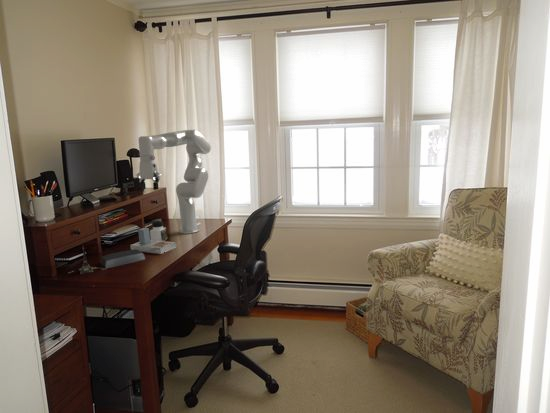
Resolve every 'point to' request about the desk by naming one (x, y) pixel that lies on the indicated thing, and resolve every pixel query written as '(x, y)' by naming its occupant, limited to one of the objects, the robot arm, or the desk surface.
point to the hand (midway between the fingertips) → (149, 189)
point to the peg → (144, 236)
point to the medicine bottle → (158, 231)
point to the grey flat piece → (154, 246)
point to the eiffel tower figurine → (87, 266)
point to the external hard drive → (121, 258)
